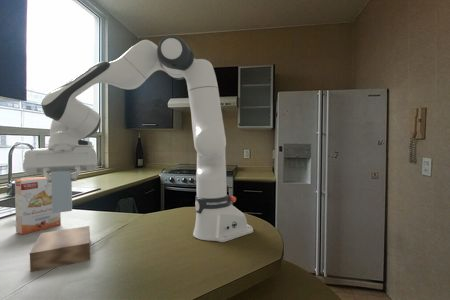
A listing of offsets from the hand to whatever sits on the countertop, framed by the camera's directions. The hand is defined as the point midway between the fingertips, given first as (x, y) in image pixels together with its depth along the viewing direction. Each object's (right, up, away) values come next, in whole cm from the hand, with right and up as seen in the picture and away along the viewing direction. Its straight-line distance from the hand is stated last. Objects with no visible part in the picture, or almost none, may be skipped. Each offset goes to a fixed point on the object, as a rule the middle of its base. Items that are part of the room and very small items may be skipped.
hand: (61, 180), depth 78 cm
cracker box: (-25, -23, +25) cm, 43 cm away
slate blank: (0, -9, 0) cm, 9 cm away
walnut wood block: (0, -23, +1) cm, 23 cm away
